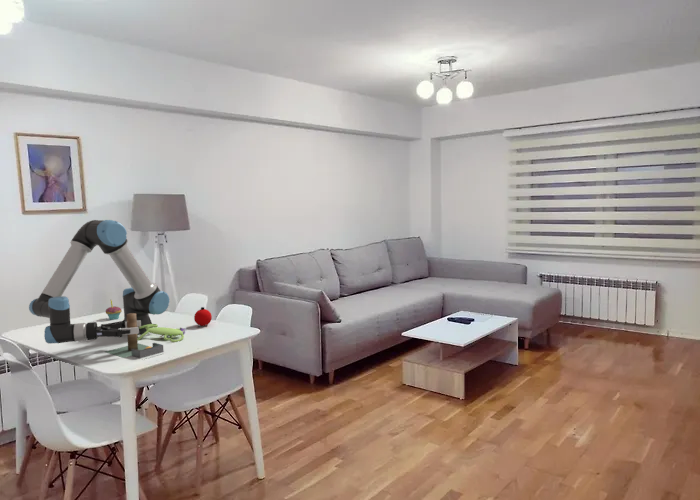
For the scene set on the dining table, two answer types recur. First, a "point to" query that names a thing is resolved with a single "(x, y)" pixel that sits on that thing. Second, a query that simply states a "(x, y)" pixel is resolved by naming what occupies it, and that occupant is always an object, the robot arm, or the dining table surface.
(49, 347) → the dining table surface
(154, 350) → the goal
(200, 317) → the ornament
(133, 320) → the peg
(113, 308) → the cupcake
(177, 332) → the figurine
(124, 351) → the mat
